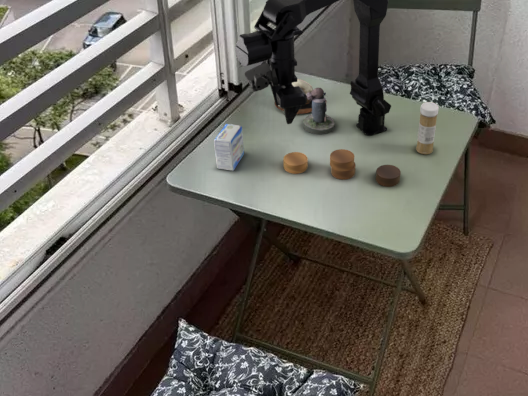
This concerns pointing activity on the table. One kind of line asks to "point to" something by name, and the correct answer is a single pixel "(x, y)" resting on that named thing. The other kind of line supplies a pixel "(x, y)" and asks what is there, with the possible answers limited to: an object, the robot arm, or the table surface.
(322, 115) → the figurine
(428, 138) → the sprinkles bottle
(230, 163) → the medicine box
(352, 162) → the chip pile
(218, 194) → the table surface
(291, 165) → the oak chip
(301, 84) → the skull
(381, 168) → the walnut chip
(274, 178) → the table surface
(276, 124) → the table surface
